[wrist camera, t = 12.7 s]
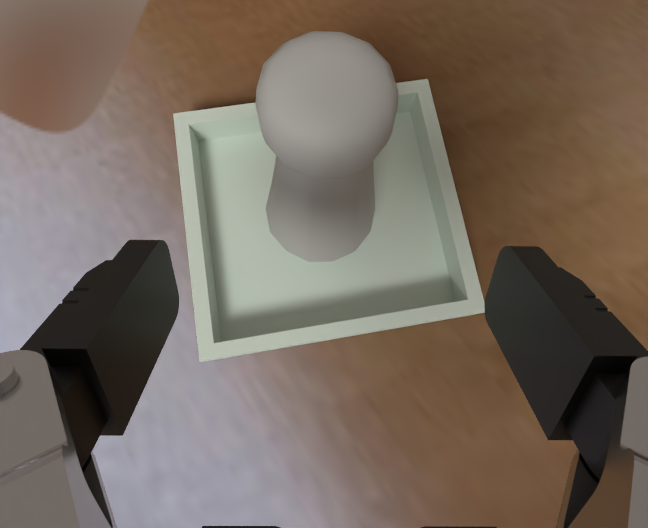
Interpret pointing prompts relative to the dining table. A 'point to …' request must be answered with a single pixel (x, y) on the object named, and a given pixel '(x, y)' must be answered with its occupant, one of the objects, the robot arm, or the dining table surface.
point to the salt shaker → (324, 140)
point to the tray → (319, 277)
